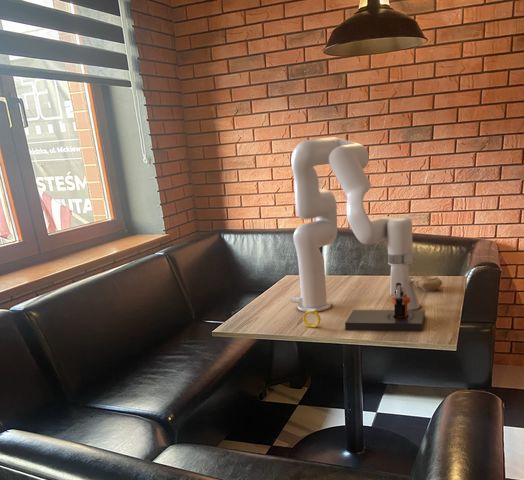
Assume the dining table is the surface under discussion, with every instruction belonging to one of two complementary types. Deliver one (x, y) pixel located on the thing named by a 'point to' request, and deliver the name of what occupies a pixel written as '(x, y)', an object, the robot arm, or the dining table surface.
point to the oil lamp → (427, 282)
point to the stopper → (406, 301)
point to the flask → (412, 297)
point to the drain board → (385, 320)
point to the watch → (315, 314)
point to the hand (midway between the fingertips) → (401, 313)
